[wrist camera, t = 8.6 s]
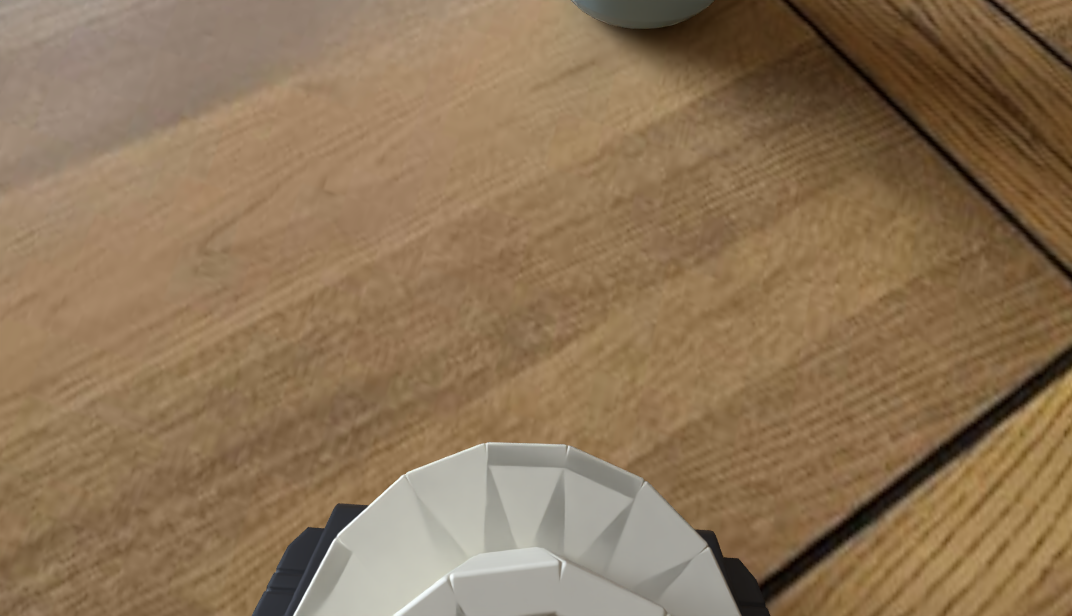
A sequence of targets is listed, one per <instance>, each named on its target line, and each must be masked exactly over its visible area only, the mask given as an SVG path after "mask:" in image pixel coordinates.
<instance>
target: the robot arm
mask: <svg viewBox="0 0 1072 616" xmlns="http://www.w3.org/2000/svg"><path fill="white" fill-rule="evenodd" d="M368 506H369V505H355V504H340V503H338V504H337V505H336V506H335V508H334V510H333V512H332V514H331V516H330V518H329V520H328V522H327V524H326V527H325V528H311V527H308V528H307V529H306V530H305V531H304V532H302V533H301V534H300V535H299V536H298V537H297V538H296V539H295V540H294V541H293V542H292V543H291V544H290V545H289V546H288V547H287V549H286V551H285V553H284V555H283V557H282V559H281V560H280V562H279V564H278V566H277V569H276V573H274V574H273V576H272V578H271V580H270V582H269V583H268V585H267V590H266V591H264V593H263V595H262V597H261V599H260V601H259V603H258V605H257V606H256V608H255V610H254V612H253V614H252V616H293V615H294V613H295V611H296V610H297V608H298V606H299V604H300V602H301V600H302V598H303V596H304V594H305V593H306V591H307V589H308V587H309V585H310V583H311V581H312V579H313V577H314V576H315V574H316V572H317V570H318V568H319V566H320V564H321V562H322V560H323V559H324V557H325V555H326V553H327V551H328V549H329V547H330V545H331V543H332V542H333V540H334V539H335V538H337V535H338V533H340V532H341V531H342V530H343V529H344V528H345V527H346V526H347V525H348V524H349V523H350V522H352V521H353V520H354V519H355V518H356V517H357V516H358V515H359V514H360V513H361V512H363V511H364V510H365V509H366V508H367V507H368ZM694 530H695V529H694ZM695 531H696V532H697V533H698V534H699V535H700V536H701V537H702V538H703V539H704V540H705V541H706V542H707V544H708V547H710V548H711V550H712V552H713V554H714V556H715V558H716V561H717V563H718V565H719V567H720V569H721V572H722V574H723V576H724V578H725V580H726V583H727V585H728V587H729V589H730V591H731V594H732V596H733V598H734V600H735V602H736V605H737V607H738V609H739V611H740V613H741V616H770V614H769V611H768V609H767V608H766V607H765V601H764V598H763V596H762V593H761V591H760V588H759V586H758V583H757V580H756V579H755V578H754V576H753V575H752V574H751V573H750V572H749V570H748V569H747V568H746V567H745V566H744V565H743V563H742V562H741V561H740V560H739V559H738V558H725V557H723V555H722V552H721V549H720V546H719V543H718V541H717V538H716V535H715V533H714V532H713V531H709V530H695Z"/></svg>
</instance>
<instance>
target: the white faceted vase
mask: <svg viewBox="0 0 1072 616" xmlns="http://www.w3.org/2000/svg"><path fill="white" fill-rule="evenodd" d="M293 616H741V613H740V611H739V609H738V607H737V605H736V602H735V600H734V598H733V596H732V594H731V591H730V589H729V587H728V585H727V583H726V580H725V578H724V576H723V574H722V572H721V569H720V567H719V565H718V563H717V561H716V558H715V556H714V554H713V552H712V550H711V548H710V547H708V544H707V542H706V541H705V540H704V539H703V538H702V537H701V536H700V535H699V534H698V533H697V532H696V531H695V530H694V529H693V528H692V527H691V526H690V525H689V524H688V523H687V522H686V520H685V519H684V518H683V517H682V516H681V515H680V514H679V513H678V512H677V511H676V510H675V509H674V508H673V507H672V506H671V505H670V504H669V503H668V502H667V501H666V500H665V499H664V498H663V497H662V496H661V495H660V494H659V493H658V492H657V491H656V490H655V489H654V488H653V487H652V486H651V485H650V484H649V483H648V482H647V481H644V479H643V478H641V477H639V476H637V475H634V474H632V473H630V472H628V471H625V470H623V469H621V468H619V467H617V466H614V465H612V464H610V463H608V462H605V461H603V460H601V459H599V458H597V457H594V456H592V455H590V454H588V453H586V452H583V451H581V450H579V449H577V448H574V447H572V446H567V445H564V444H528V443H493V442H488V443H486V444H480V445H477V446H474V447H472V448H469V449H467V450H464V451H461V452H459V453H456V454H454V455H451V456H448V457H446V458H443V459H441V460H438V461H435V462H433V463H430V464H427V465H425V466H422V467H420V468H417V469H414V470H412V471H409V472H407V473H406V475H402V476H401V477H400V478H399V479H398V480H397V481H396V482H394V483H393V484H392V485H391V486H390V487H389V488H388V489H387V490H386V491H385V492H383V493H382V494H381V495H380V496H379V497H378V498H377V499H376V500H375V501H374V502H372V503H371V504H370V505H369V506H368V507H367V508H366V509H365V510H364V511H363V512H361V513H360V514H359V515H358V516H357V517H356V518H355V519H354V520H353V521H352V522H350V523H349V524H348V525H347V526H346V527H345V528H344V529H343V530H342V531H341V532H340V533H338V535H337V538H335V539H334V540H333V542H332V543H331V545H330V547H329V549H328V551H327V553H326V555H325V557H324V559H323V560H322V562H321V564H320V566H319V568H318V570H317V572H316V574H315V576H314V577H313V579H312V581H311V583H310V585H309V587H308V589H307V591H306V593H305V594H304V596H303V598H302V600H301V602H300V604H299V606H298V608H297V610H296V611H295V613H294V615H293Z"/></svg>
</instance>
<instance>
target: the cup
mask: <svg viewBox="0 0 1072 616" xmlns="http://www.w3.org/2000/svg"><path fill="white" fill-rule="evenodd" d="M571 1H572V2H573V3H574V4H575V5H576V6H577V7H578V8H579V9H580V10H582V11H583V12H584V13H586V14H588V15H589V16H591V17H592V18H594V19H596V20H599V21H601V22H604V23H606V24H609V25H614V26H618V27H622V28H631V29H656V28H662V27H668V26H671V25H674V24H677V23H680V22H683V21H685V20H688V19H690V18H692V17H694V16H695V15H697V14H699V13H700V12H702V11H703V10H704V9H706V8H707V7H708V6H710V5H711V4H712V3H713V2H714V1H715V0H571Z"/></svg>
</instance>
